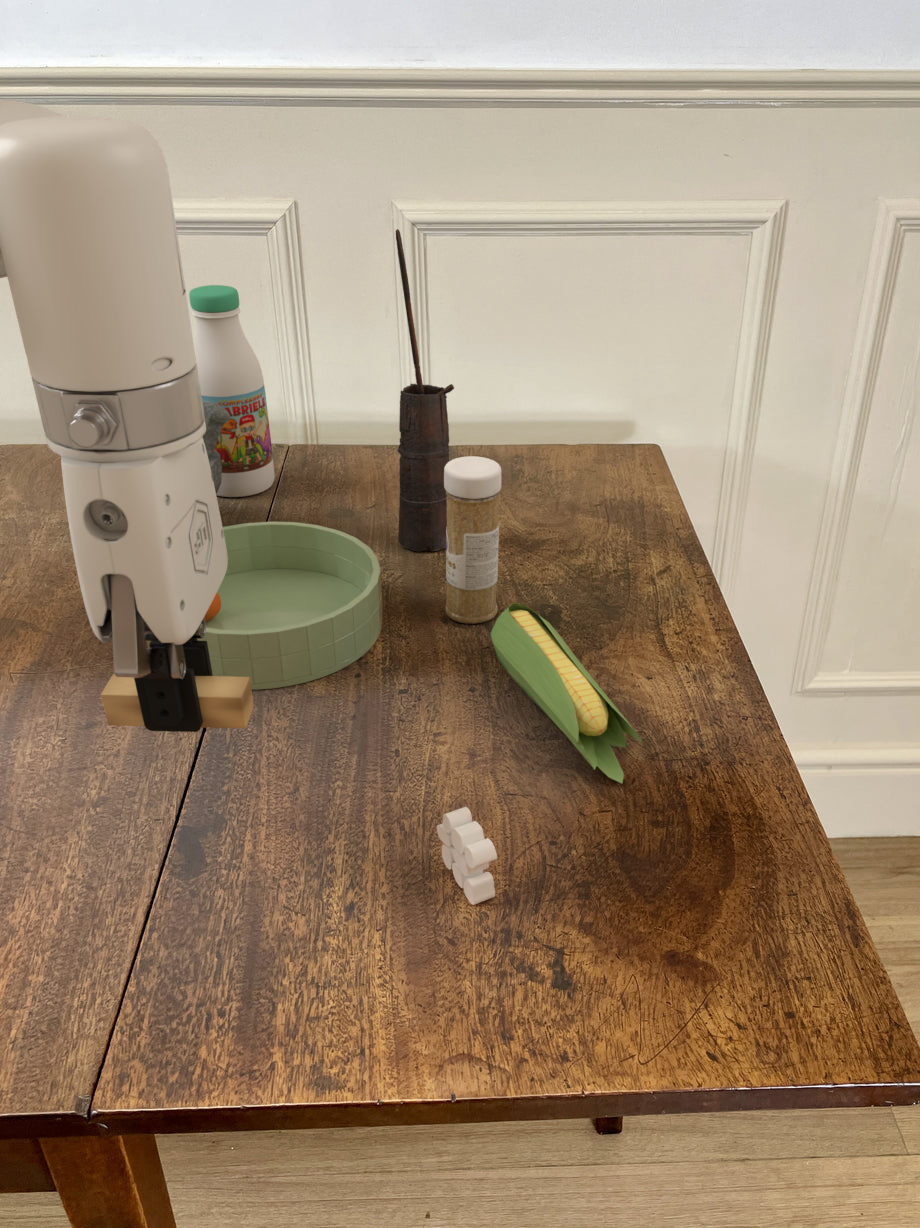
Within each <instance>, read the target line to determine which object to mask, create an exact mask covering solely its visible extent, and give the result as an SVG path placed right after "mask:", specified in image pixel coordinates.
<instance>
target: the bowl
mask: <svg viewBox="0 0 920 1228" xmlns="http://www.w3.org/2000/svg"><path fill="white" fill-rule="evenodd" d="M222 527H223V532H224V537H225V543H226V548H227V555H228V565H227V570H226V574H225V576H224V578H223V581H222V583H221V585H220V587H219V589H218V591H217V593H218V594H219V596H220V599H221V608H220V611H219V613H218V614H217V615H216V616H215V617H214V618H213V619H211V620H208V621H205V623H206V633H205V637H204V638H203V639H197V641H207V644H208V650H209V656H210V662H211V668H212V674H213V676H234V677H250V683H251V690H252V691H258V690H270V689H279V688H280V689H281V688H286V687H292V686H297V685H301V684H305V683H309V682H312V681H315V680H319V679H323V678H324V677H327V676H329V675H332V674H335V673H337V672H339V671H341V670H343V669H345V668H346V667H349V666H350V665H352V664H353V663H355V662H356V661H358V660H359V659H361V658H362V657H363V656H364V655H366V653H368V651H369V650H370V649H372V647H373V646H374V645H375V643H376V642H377V641H378V638H379V637H380V635H381V631H382V629H383V621H384V620H383V618H384V609H383V588H382V572H381V571H382V570H381V565H380V561H379V558H378V556H377V555H376V553H375V552H374V550H372V548H371V547H370V546H368V545H367V544H365V543H364V542H363V541H362V540H360V539H359V538H357V537H356V536H354V535H351V534H348V533H346V532H344V531H341V530H339V529H334V528H331V527H326V526H323V525H318V524H312V523H304V522H297V521H260V522H259V521H258V522H245V523H239V524H233V525H227V526H222ZM150 642H151V641H145V643H146V645H147V646H146V647H147V648H150V646H149V643H150Z"/></svg>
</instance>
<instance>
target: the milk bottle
mask: <svg viewBox="0 0 920 1228" xmlns="http://www.w3.org/2000/svg"><path fill="white" fill-rule="evenodd" d="M188 298H189V304H190V307H191V314H192V316H194V322H195V323H194V324H195V325H194V333H193V343H194V350H195V357H196V364H197V370H198V376H199V383H200V390H201V397H202V403H203V402H205V401H209V402H214V403H216V404H218V405H220V406H222V407H223V408H225V409H226V410H227V411H228V413H229V414H230V418H229V421H228V422H226V423H225V424H224V425H223V427H222V430H221V433H220V435H219V438H218V441H217V444H216V446H215V450H216V451H217V452H218V453H219V454H220V458H221V465H222V478H221V485H220V487H219V490H218V492H217V495H216V496H218V497H225V498H239V497H240V498H241V497H249V496H254V495H257V494H260V493H263V492H265V491H267V490H269V489H270V488H271V487H272V486H273V484H274V481H275V479H276V475H275V467H274V465H275V464H274V457H273V456H274V455H273V447H272V446H273V445H272V439H271V438H272V437H271V430H270V428H271V427H270V421H269V412H268V401H267V395H266V394H267V393H266V389H265V388H266V387H265V381H264V375H263V371H262V367H261V364H260V362H259V359H258V357H257V355H256V353H255V351H254V350H253V348H252V346H251V345H250V343H249V341H248V338H247V337H246V335H245V332H244V330H243V328H242V325H241V323H240V318H239V314H240V313H241V309H240V296H239V291H238V289H236V287H233V286H229V285H222V284H209V285H208V284H207V285H201V286H197V287H194V288H192V289H191V290H189V294H188Z"/></svg>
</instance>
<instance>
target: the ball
mask: <svg viewBox="0 0 920 1228" xmlns="http://www.w3.org/2000/svg"><path fill="white" fill-rule="evenodd" d="M220 608H221V599H220V596H219V594H218V593H216V595H215V597H214V599H213V601H212V603H211V605H210V607H209V609H208V611H207V612H206V614H205V616H204V617H205V621H208V620H211V619H213V618H214V617H215V616H216V615H217V614H218V613H219V611H220Z"/></svg>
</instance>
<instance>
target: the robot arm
mask: <svg viewBox="0 0 920 1228" xmlns="http://www.w3.org/2000/svg"><path fill="white" fill-rule="evenodd" d="M165 156H166V155H165V154H164V152H163V149H162V147H161V145H160V143H159V141H158V140H157V138H156V137H155V136H154V135H153V134H152V132H150V131H149V130H148V129H147V128H145V127H144V126H143V125H140V124H137V123H135V122H132V121H129V120H125V119H119V118H112V117H111V118H110V117H102V116H100V117H99V116H66V115H63V114H61V113H59V112H56V111H54V110H51V109H49V108H46V107H43V106H41V105H37V104H34V103H30V102H27V101H26V102H25V101H20V100H12V99H0V279H4V278H7V281H8V286H9V288H10V294H11V298H12V302H13V306H14V311H15V314H16V319H17V323H18V327H19V332H20V336H21V339H22V343H23V348H24V352H25V356H26V359H27V365H28V369H29V373H30V376H31V382H32V387H33V390H34V393H35V398H36V403H37V406H38V410H39V415H40V419H41V423H42V427H43V432H44V437H45V440H46V445H47V447H48V448H49V449H50V451H51V452H52V453H54V454H56V455H58V456H60V465H61V466H60V467H61V473H62V474H61V477H62V484H63V485H62V486H63V491H64V492H63V494H64V500H65V509H66V515H67V521H68V529H69V536H70V541H71V547H72V552H73V558H74V563H75V569H76V573H77V577H78V584H79V588H80V592H81V596H82V600H83V605H84V609H85V611H86V616H87V618H88V622H89V624H90V627H91V629H92V630H91V631H92V632H93V634H94V635H95V637H96V638H97V639H98V641H101V642H102V643H103V644H108V643H110V642H112V655H113V656H112V657H113V658H112V659H113V672H114V673H113V674H115V676H116V677H132V678H134V680H135V684H136V689H137V694H138V698H139V703H140V707H141V712H142V717H143V721H144V726H143V727H144V728H145V729H146V730H147V731H150V732H176V733H177V732H179V733H181V732H182V733H196V732H199V731H200V730H201V726H202V724H203V720H202V714H201V709H200V703H199V698H198V692H197V686H196V681H195V676H213V674H212V668H211V662H210V656H209V650H208V644H207V641H197V639H203V638H204V637H205V633H206V623H205V617H204V616H205V614H206V612H207V611H208V609H209V607H210V605H211V603H212V601H213V599H214V597H215V595H216V593H217V591H218V589H219V587H220V585H221V583H222V581H223V578H224V576H225V574H226V570H227V565H228V555H227V548H226V543H225V537H224V532H223V527H224V526H223V522H222V517H221V513H220V505H219V502H218V497H217V495H216V491H215V486H214V482H213V477H212V472H211V468H210V464H209V459H208V455H207V451H206V447H205V444H204V440H203V435H204V434H205V432H206V424H205V418H204V410H203V403H202V397H201V390H200V383H199V376H198V370H197V364H196V357H195V350H194V343H193V339H194V335H193V330H192V324H191V317H190V311H189V304H188V297H187V290H186V284H185V275H184V269H183V264H182V263H183V262H182V256H181V250H180V243H179V242H180V241H179V236H178V230H177V229H178V228H177V222H176V216H175V209H174V203H173V197H172V196H173V195H172V189H171V188H172V187H171V183H170V182H171V181H170V176H169V170H168V165H167V159H166V157H165ZM146 641H151V642H150V643H149V646H150V648H148V647H147V646H146Z"/></svg>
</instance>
